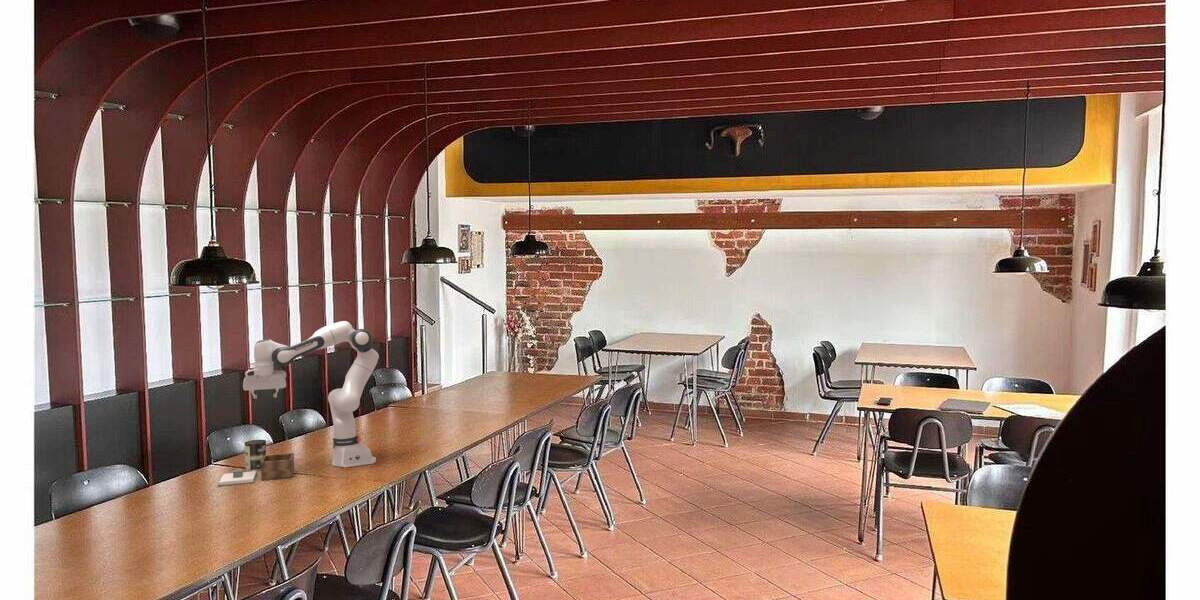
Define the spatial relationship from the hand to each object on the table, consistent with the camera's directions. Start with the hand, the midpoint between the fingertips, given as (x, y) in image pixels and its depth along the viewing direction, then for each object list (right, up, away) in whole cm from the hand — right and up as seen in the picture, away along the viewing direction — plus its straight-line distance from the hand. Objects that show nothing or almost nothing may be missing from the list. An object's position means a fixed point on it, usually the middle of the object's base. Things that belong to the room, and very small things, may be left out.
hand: (265, 398), depth 395 cm
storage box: (+11, -38, -9) cm, 40 cm away
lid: (-6, -38, -17) cm, 42 cm away
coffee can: (-6, -37, +4) cm, 38 cm away
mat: (-6, -38, -17) cm, 42 cm away
